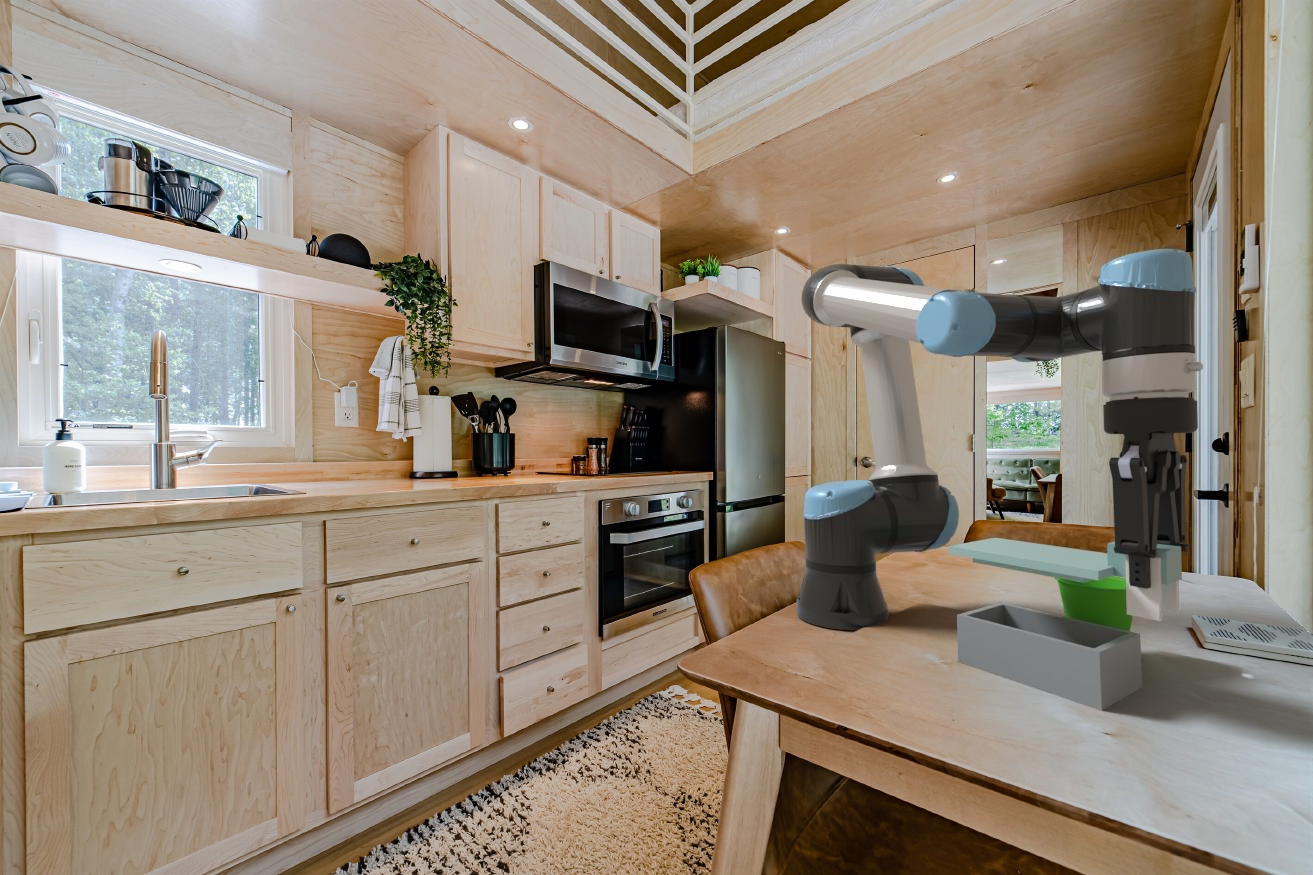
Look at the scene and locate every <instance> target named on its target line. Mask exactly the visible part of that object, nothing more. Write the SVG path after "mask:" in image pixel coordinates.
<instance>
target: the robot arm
mask: <svg viewBox="0 0 1313 875" xmlns="http://www.w3.org/2000/svg"><path fill="white" fill-rule="evenodd" d="M1192 261H1193V260H1192V257H1191V255H1190V254H1189V253H1188V252H1186V251H1184V250H1181V249H1175V248H1173V249H1172V248H1161V249H1160V248H1159V249H1150V250H1149V249H1148V250H1144V251H1138V252H1133V253H1129V254H1125V255H1122V256H1120V257H1116V258H1114V259H1112V260H1111V261H1109V262H1106V263H1105V264H1104V265H1103V266H1102V267H1101V269H1100V272H1099V274H1100V275H1099V276H1100V277H1099V279H1098V280H1097V281H1098V284H1099V285H1096V286H1093V287H1091V288H1087V289H1085V290H1082V291H1078V292H1074V293H1070V294H1066V295H1060V296H1039V295H1038V296H1037V295H1017V294H1001V293H999V294H998V293H991V292H990V293H989V292H986V293H985V292H976V291H968V290H962V289H961V290H958V289H949V288H942V287H933V286H927V285H926V286H925V284H924V281H923V280H922V278H921V277H920V276H919V275H918V274H917V273H916V272H914V271H912V270H911V269H908V268H902V267H901V268H900V267H897V266H894V265H887V266H878V265H877V266H876V265H863V264H862V265H861V264H848V263H837V264H835V263H834V264H830V265H826V266H823V267H821V268H819V269H817V270H816V271H815V272H813V273H812V274H811V275H810V277H809V278H807V280H806V281H805V284H804V285H803V289H802V292H801V304H802V305H801V306H802V308H803V310H804V313H805V314H806V315H807V317H808V318H809V319H811V320H812V321H813V322H815V323H817V324H820V325H822V326H827V327H835V328H837V327H838V328H849V330H850V331H849V332H850V338H851V342H852V344H854V345H855V346H857V347H859V348H860V351H861V353H860V354H861V359H862V367H863V376H864V384H865V393H866V400H867V408H868V418H869V423H870V424H869V425H870V433H871V439H872V448H873V458H874V464H875V470H874V472H873V473H872V474H871V475H870V476H869V478H868V480H865V479H858V480H857V479H851V480H850V479H849V480H845V481H843V480H840V481H838V480H837V481H832V482H826V483H825V482H824V483H821V484H817V485H814V486H812V487H810V488H809V489H807V491H806V493H805V495H804V501H803V502H804V505H803V506H804V507H803V517H804V519H803V520H804V545H805V546H804V547H805V548H804V549H805V572H804V577H803V579H802V584H801V585H800V586H801V587H800V591H799V595H798V596H797V599H796V616H797V617H798V618H799V619H801V620H802V621H804V622H806V623H809V624H811V625H813V626H814V625H815V626H818V627H822V628H827V629H834V630H843V631H860V630H861V629H864V628H866V627H871V626H877V625H880V624H883V623H885V622H887V621H888V620H889V616H890V615H889V606H888V604H887V602H886V600H885V597H884V594H883V591H882V588H881V584H880V581H879V578H878V575H877V555H879V554H880V555H881V554H882V555H883V554H895V553H910V552H915V553H918V552H919V553H923V552H925V551H926V552H927V551H930V550H931V551H932V550H937V549H940V548H942V547H944V546H945V545H947V544H948V543H949V542H950V541H951V539H952V537H954V535H955V534H956V532H957V530H958V526H959V519H960V510H959V505H958V501H957V499H956V497H955V496H954V495H952V492H951V491H950V490H949V489H948V488H947V487H945V486H943V485H941V484H940V482H939V477H938V476H939V475H938V472H936V471H935V470H934V469H932V468H930V467H929V465H928V464H927V459H926V457H927V456H926V451H925V444H924V436H923V431H922V430H923V429H922V422H921V421H922V420H921V415H920V408H919V401H918V394H917V393H918V392H917V386H916V385H917V384H916V380H915V379H916V378H915V373H914V365H913V358H912V357H913V356H912V352H911V344H910V341H911V342H915V343H919V344H922V346H923V347H924V350H925V351H927V352H928V353H931V354H935V355H943V356H946V357H947V356H948V357H953V358H961V357H966V356H967V357H968V356H969V357H1004V358H1006V357H1007V358H1012V359H1013V360H1014V361H1016V362H1019V363H1033V362H1034V363H1035V362H1043V363H1044V362H1050V361H1053V360H1055V359H1060V358H1061V359H1062V358H1066V357H1067V358H1068V357H1072V356H1078V355H1083V354H1084V355H1085V354H1088V353H1094V352H1101V355H1102V362H1101V375H1102V376H1101V379H1102V380H1101V386H1102V387H1101V388H1102V390H1101V391H1102V392H1101V393H1102V395H1103V396H1105V397H1106V398H1109V401H1105V404H1103V406H1102V407H1103V411H1102V412H1103V431H1104V432H1105V433H1106V434H1108V435H1123V437H1124V438H1123V441H1122V442H1123V443H1122V447H1121V451H1120V453H1119V457H1110V459H1109V462H1108V465H1109V470H1110V474H1111V479H1112V496H1113V497H1112V499H1113V500H1112V501H1113V526H1114V527H1113V528H1114V542H1115V547H1114V552H1115V553H1119V554H1125V560H1126V578H1125V579H1126V602H1127V614H1128V615H1132V617H1133V616H1134V617H1137V618H1142V619H1147V620H1150V621H1151V620H1152V621H1156V622H1157V621H1158V622H1161V621H1163V612H1168V613H1172V614H1179V613H1180V585H1179V584H1180V583H1179V582H1180V580H1179V581H1176V582H1173V583H1171V584H1168V585H1166V584H1161V558H1159V557H1156V554H1157V551H1156V549H1157V544H1163V545H1171V546H1180V547H1181V553H1182V552H1183V553H1187V552H1189V551H1190V544H1186V540H1187V536H1186V535H1187V533H1186V531H1187V530H1186V527H1187V526H1186V525H1187V524H1186V521H1187V520H1186V471H1187V465H1188V464H1187V463H1188V458H1187V455H1185V454H1181V453H1180V451H1178V450H1177V446H1176V445H1175V444H1176V443H1175V438H1174V434H1192V433H1194V432H1196V431H1197V430H1198V428H1199V423H1198V422H1199V421H1198V419H1199V418H1198V416H1199V415H1198V400H1195V397H1189V393H1193V392H1194V391H1196V390H1197V375H1196V372H1200V371H1202V370H1203V369H1204V365H1203V362H1201V361H1196V345H1195V304H1196V303H1195V301H1196V299H1195V298H1196V296H1195V295H1196V293H1197V288H1196V286H1195V279H1194V271H1193V270H1194V269H1193V262H1192Z"/></svg>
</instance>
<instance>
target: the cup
mask: <svg viewBox="0 0 1313 875" xmlns="http://www.w3.org/2000/svg"><path fill="white" fill-rule="evenodd" d="M1053 578H1054V580H1056V581H1057V583H1058V589H1059V593H1060V597H1061V598H1060V599H1061V601H1062V607H1063V611H1064V617H1068V618H1073V619H1077V620H1081V621H1086V622H1090V623H1095V624H1099V625H1104V626H1108V627H1112V628H1117V629H1121V630H1126V631H1130V632H1131V626H1132V621H1133V616H1132V615H1128V614H1127V602H1126V578H1124V577H1118V576H1111V577H1108V578H1105V579H1102V580H1092V581H1088V582H1085V583H1082V582H1077V581H1071V580H1066V579H1061V578H1055V577H1053Z"/></svg>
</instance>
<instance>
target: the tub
mask: <svg viewBox="0 0 1313 875" xmlns="http://www.w3.org/2000/svg"><path fill="white" fill-rule="evenodd" d="M956 626H957V628H956V630H957V657H958V658H957V660H958V661H957V662H958V663H960V664H963V665H965V666H969V667H971V668H974V669H976V670H980V671H983V672H986V673H988V674H992V675H995V676H998V677H1000V678H1003V679H1007V680H1009V681H1013V682H1016V683H1019V684H1022V685H1024V686H1028V687H1029V688H1030V687H1031V688H1034V689H1036V690H1040V691H1042V692H1045V693H1048V694H1051V695H1053V696H1057V697H1060V698H1062V699H1066V700H1068V701H1072V702H1075V703H1078V704H1080V705H1083V706H1087V707H1089V708H1092V709H1095V710H1098V711H1104V710H1105V709H1108V708H1109V707H1111V706H1113V705H1115V704H1116V703H1118V702H1120V701H1121V700H1123V699H1125V698H1127V697H1128V696H1130V695H1132V694H1133V693H1135V692H1137V691H1139V690H1140V689H1142V688H1143V675H1142V674H1143V671H1142V669H1143V668H1142V651H1141V650H1142V646H1141V644H1142V643H1141V642H1142V641H1141V633H1139V632H1134V631H1131V630H1130V631H1126V630H1121V629H1117V628H1112V627H1108V626H1104V625H1099V624H1095V623H1090V622H1086V621H1081V620H1077V619H1073V618H1068V617H1066V616H1065V615H1063V616H1062V615H1058V614H1053V613H1050V612H1045V611H1042V610H1041V611H1040V610H1037V609H1032V608H1027V607H1023V606H1019V605H1015V604H1011V603H1010V604H1009V603H1006V602H1001V601H999V602H996V603H994V604H993V603H992V604H990V605H986V606H982V607H980V608H977V609H976V608H975V609H973V610H968V611H965V612H962V613H959V614H956Z"/></svg>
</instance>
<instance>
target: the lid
mask: <svg viewBox="0 0 1313 875" xmlns="http://www.w3.org/2000/svg"><path fill="white" fill-rule="evenodd" d="M1106 547H1107V552H1101V551H1093V550H1087V549H1080V548H1070V547H1064V546H1058V545H1057V546H1056V545H1051V544H1043V543H1035V542H1028V541H1022V540H1013V539H1009V538H1008V539H1006V538H1000V537H992V538H985V539H980V540H974V541H970V542H965V543H958V544H954V545H949V546H947V551H948V553H947V554H948V555H953V556H958V557H965V558H971V559H972V563H975V564H980V565H985V566H990V567H991V566H992V567H996V568H1002V569H1006V570H1007V569H1008V570H1013V571H1018V572H1023V573H1029V574H1034V575H1040V576H1045V577H1051V578H1054V577H1055V578H1061V579H1066V580H1071V581H1077V582H1082V583H1085V582H1088V581H1092V580H1102V579H1105V578H1108V577H1111V576H1115V577H1121V578H1125V579H1126V560H1125V554H1119V553H1115V552H1114V547H1115V541H1112V542H1108V543H1107V545H1106ZM1156 551H1157V554H1156V557H1159V558H1161V584H1166V585H1168V584H1171V583H1173V582H1176V581H1179V582H1180V581H1181V580H1183V574H1182V573H1183V572H1182V571H1183V569H1182V568H1183V567H1182V551H1181V547H1180V546H1171V545H1163V544H1157V549H1156ZM1055 578H1054V579H1055Z"/></svg>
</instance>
